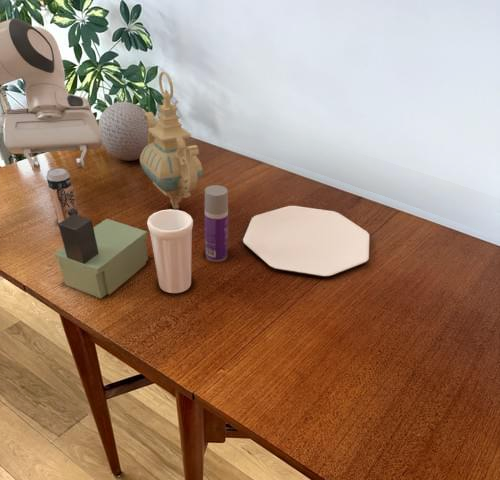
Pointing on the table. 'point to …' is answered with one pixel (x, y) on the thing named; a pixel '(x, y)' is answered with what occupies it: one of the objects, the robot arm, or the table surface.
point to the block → (78, 238)
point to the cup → (172, 248)
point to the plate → (307, 241)
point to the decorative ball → (124, 130)
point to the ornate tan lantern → (170, 152)
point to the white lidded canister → (61, 193)
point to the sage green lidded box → (107, 259)
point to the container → (216, 223)
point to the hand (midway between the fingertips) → (59, 169)
